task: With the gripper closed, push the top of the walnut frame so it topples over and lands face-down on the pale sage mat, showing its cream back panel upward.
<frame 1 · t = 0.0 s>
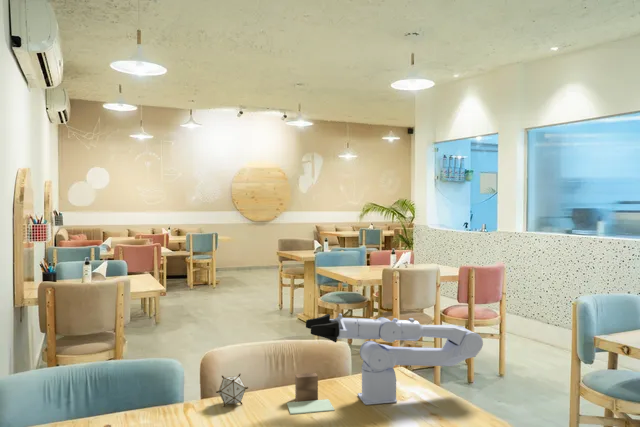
hand: (308, 326, 139), 22 cm above the table, tool horizontal, fingers open, 7 cm apart
game die: (232, 404, 140), on the table
walnut frame: (306, 399, 143), on the table
sage mat: (310, 407, 137), on the table
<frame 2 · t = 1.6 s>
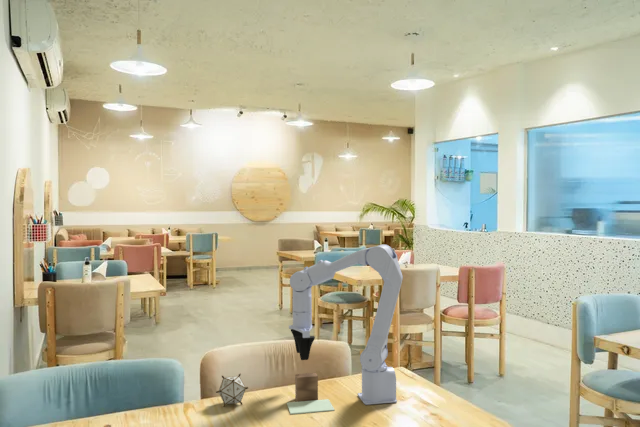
hand: (302, 356, 150), 10 cm above the table, tool pointing down, fingers open, 7 cm apart
nothing on the table moved.
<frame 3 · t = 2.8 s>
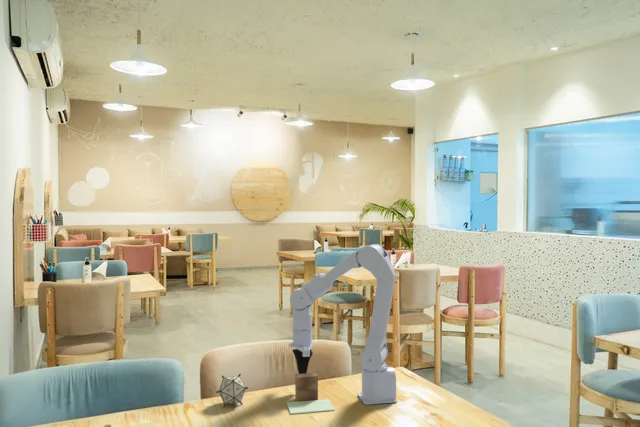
hand: (302, 374, 150), 5 cm above the table, tool pointing down, fingers closed
nothing on the table moved.
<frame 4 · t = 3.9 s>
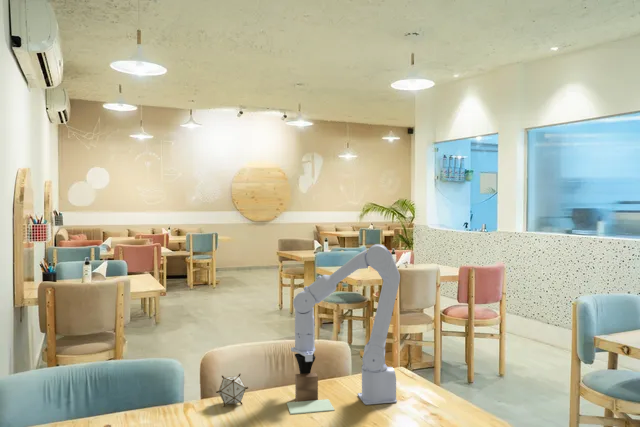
hand: (305, 379, 145), 5 cm above the table, tool pointing down, fingers closed
walnut frame: (306, 399, 143), on the table, touching gripper
everything else where it was.
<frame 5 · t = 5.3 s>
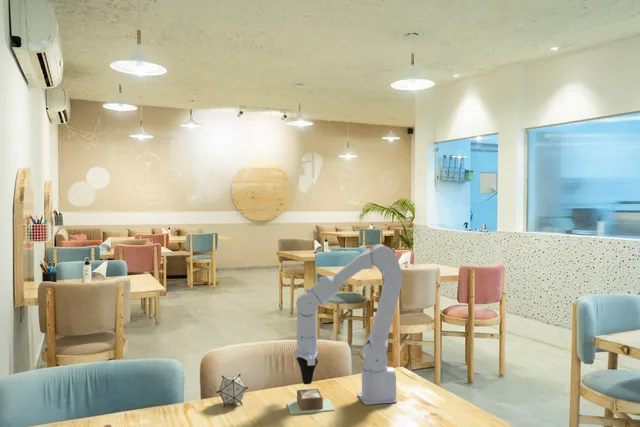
hand: (307, 383, 142), 5 cm above the table, tool pointing down, fingers closed
walnut frame: (307, 394, 142), point 2 cm above the table, tilted 90°, touching sage mat
everything else where it was.
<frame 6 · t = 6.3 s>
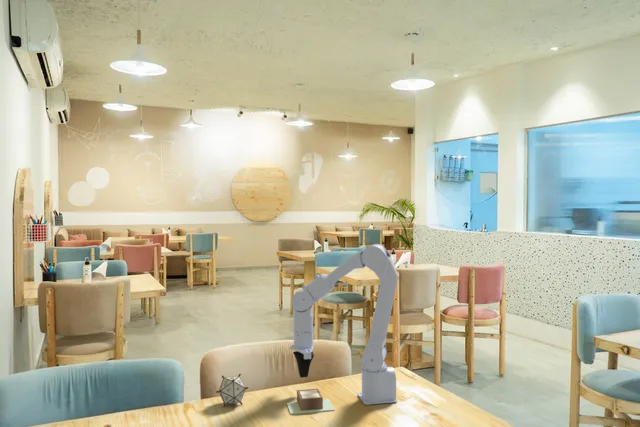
hand: (303, 376, 148), 5 cm above the table, tool pointing down, fingers closed
nothing on the table moved.
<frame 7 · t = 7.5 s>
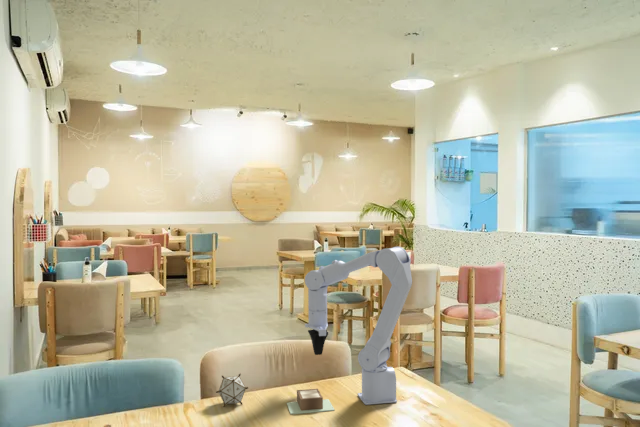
hand: (318, 354, 152), 10 cm above the table, tool pointing down, fingers closed
nothing on the table moved.
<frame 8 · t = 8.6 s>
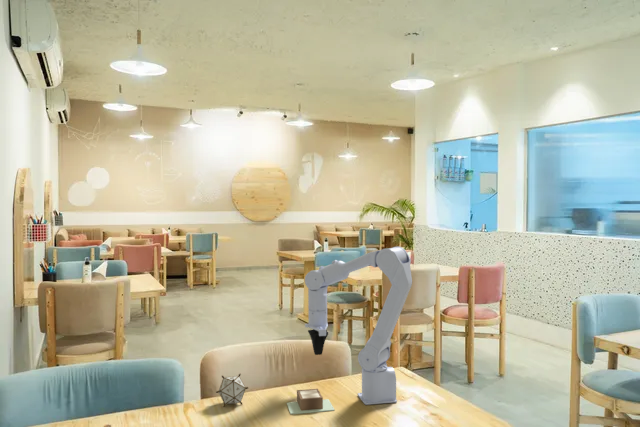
hand: (318, 354, 152), 10 cm above the table, tool pointing down, fingers closed
nothing on the table moved.
at the end: walnut frame tilted 90°; walnut frame inside the target area (3.7 cm from its centre), point 1.8 cm above the table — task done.
